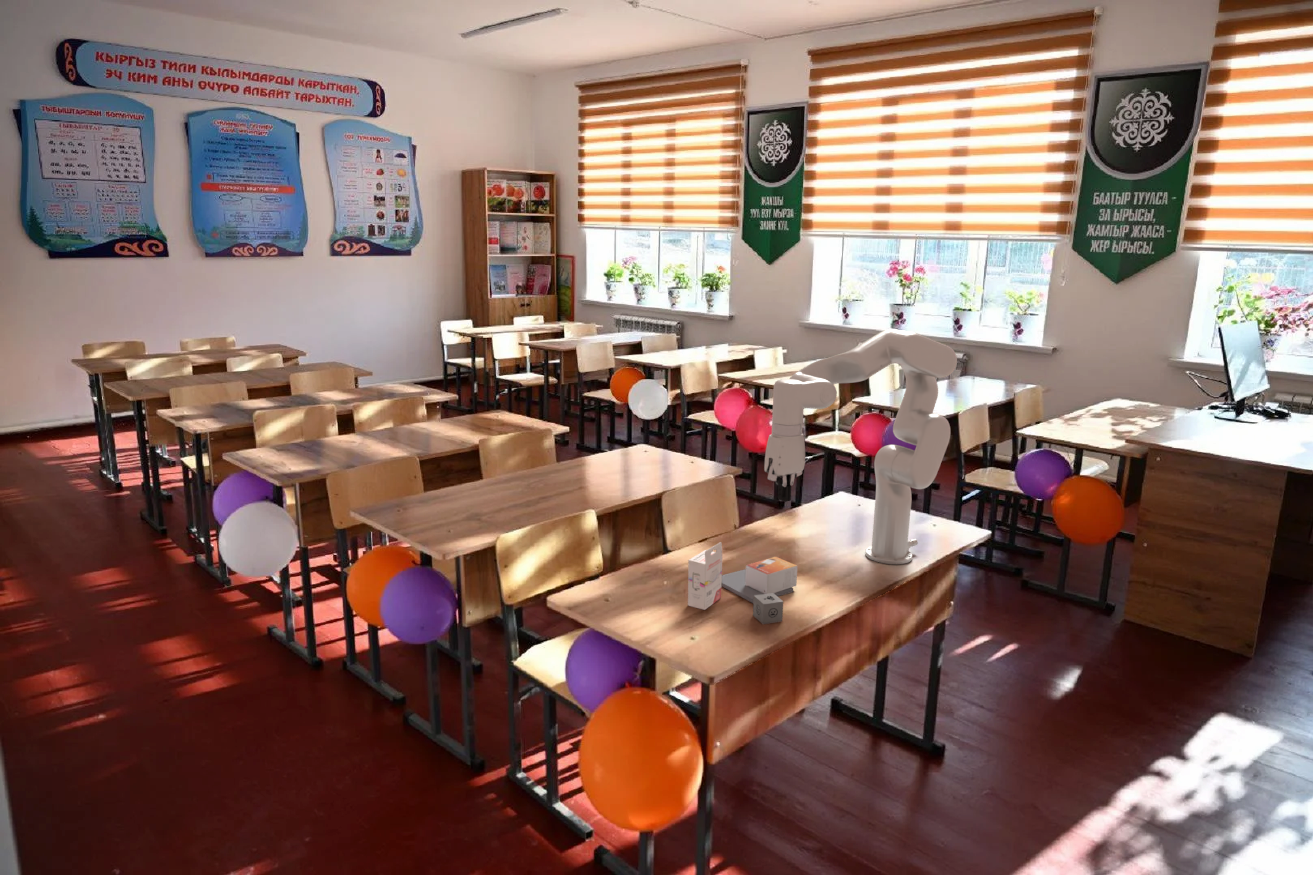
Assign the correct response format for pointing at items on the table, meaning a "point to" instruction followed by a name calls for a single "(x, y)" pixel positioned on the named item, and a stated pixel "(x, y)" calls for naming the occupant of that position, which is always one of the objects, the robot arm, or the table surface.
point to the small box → (771, 575)
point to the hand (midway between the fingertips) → (784, 499)
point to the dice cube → (768, 608)
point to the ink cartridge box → (705, 578)
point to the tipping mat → (744, 586)
